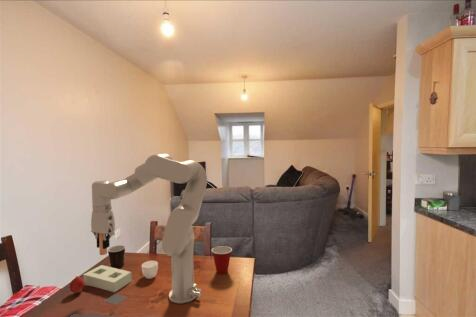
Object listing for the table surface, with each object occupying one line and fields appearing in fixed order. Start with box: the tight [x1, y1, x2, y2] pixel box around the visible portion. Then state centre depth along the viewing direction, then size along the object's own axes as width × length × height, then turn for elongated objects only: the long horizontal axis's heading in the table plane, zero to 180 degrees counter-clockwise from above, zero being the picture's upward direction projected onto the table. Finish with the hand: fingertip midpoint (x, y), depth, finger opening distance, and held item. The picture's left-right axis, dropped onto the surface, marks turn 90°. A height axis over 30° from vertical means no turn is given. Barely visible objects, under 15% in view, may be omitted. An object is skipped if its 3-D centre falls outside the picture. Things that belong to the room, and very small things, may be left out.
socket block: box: [82, 264, 132, 293], centre depth 124 cm, size 20×10×5 cm, turn 68°
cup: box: [141, 260, 159, 279], centre depth 130 cm, size 8×10×7 cm
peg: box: [99, 233, 108, 256], centre depth 118 cm, size 3×3×10 cm
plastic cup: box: [211, 245, 233, 275], centre depth 133 cm, size 11×11×12 cm
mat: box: [103, 292, 129, 306], centre depth 110 cm, size 8×6×1 cm
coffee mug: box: [107, 244, 126, 269], centre depth 139 cm, size 12×9×10 cm
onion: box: [68, 275, 86, 294], centre depth 116 cm, size 6×6×8 cm
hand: (103, 246), depth 118 cm, fingers closed on peg, 3 cm apart
